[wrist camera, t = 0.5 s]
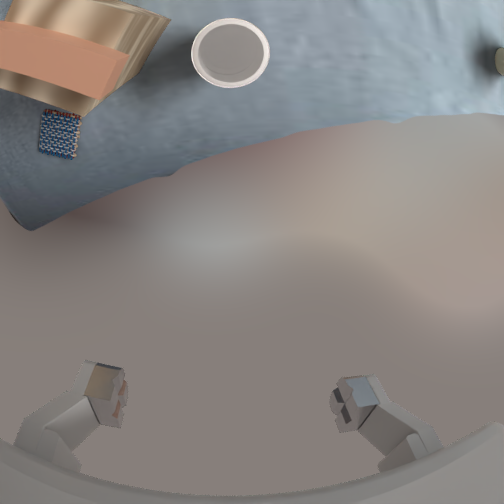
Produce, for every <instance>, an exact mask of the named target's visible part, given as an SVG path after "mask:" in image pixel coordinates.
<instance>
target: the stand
mask: <svg viewBox="0 0 504 504" xmlns="http://www.w3.org/2000/svg"><path fill="white" fill-rule="evenodd" d="M4 21H7V22H14V23H20V24H25V25H30V26H35V27H40V28H44V29H49V30H53V31H57V32H61V33H64V34H68V35H71V36H75V37H78V38H82V39H85V40H88V41H91V42H94V43H97V44H100V45H103V46H106V47H109V48H112V49H115V50H117V51H120V52H123V53H125V54H128V55H130V56H129V58H128V60H127V62H126V64H125V66H124V68H123V70H122V72H121V74H120V76H119V78H118V80H117V82H116V84H115V86H114V88H113V90H112V91H111V92H109V93H108V94H107V95H105V96H104V97H103V98H102V99H100V100H97V99H94V98H92V97H89V96H86V95H84V94H81V93H78V92H75V91H73V90H70V89H67V88H64V87H61V86H58V85H55V84H52V83H49V82H46V81H43V80H40V79H37V78H33V77H30V76H27V75H23V74H20V73H16V72H13V71H9V70H6V69H2V68H0V88H2V89H5V90H8V91H12V92H15V93H18V94H21V95H24V96H27V97H30V98H33V99H36V100H39V101H42V102H45V103H48V104H51V105H53V106H56V107H59V108H62V109H64V110H67V111H70V112H73V113H75V114H78V115H80V116H83V117H84V116H85V115H87V114H88V113H89V112H90V111H91V110H92V109H93V108H95V107H96V106H97V105H98V104H99V103H101V102H102V101H103V100H104V99H105V98H107V97H108V96H109V95H110V94H112V93H113V92H114V91H115V90H117V89H118V88H119V87H121V86H122V85H123V84H125V83H126V82H127V81H129V80H130V79H131V78H133V77H134V76H136V75H137V74H138V73H139V72H140V70H141V68H142V66H143V65H144V63H145V61H146V59H147V57H148V56H149V54H150V52H151V51H152V49H153V47H154V46H155V44H156V42H157V41H158V39H159V38H160V36H161V34H162V33H163V31H164V30H165V28H166V27H167V25H168V24H169V22H170V21H171V19H168V18H166V17H163V16H161V15H158V14H156V13H153V12H151V11H148V10H145V9H143V8H140V7H137V6H134V5H131V4H128V3H125V2H122V1H119V0H13V1H12V4H11V6H10V8H9V11H8V13H7V15H6V18H5V20H4Z"/></svg>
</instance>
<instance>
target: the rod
mask: <svg viewBox="0 0 504 504" xmlns="http://www.w3.org/2000/svg"><path fill="white" fill-rule="evenodd" d="M129 56H130V55H128V54H125V53H123V52H120V51H117V50H115V49H112V48H109V47H106V46H103V45H100V44H97V43H94V42H91V41H88V40H85V39H82V38H78V37H75V36H71V35H68V34H64V33H61V32H57V31H53V30H49V29H44V28H40V27H35V26H30V25H25V24H20V23H14V22H7V21H0V68H2V69H6V70H9V71H13V72H16V73H20V74H23V75H27V76H30V77H33V78H37V79H40V80H43V81H46V82H49V83H52V84H55V85H58V86H61V87H64V88H67V89H70V90H73V91H75V92H78V93H81V94H84V95H86V96H89V97H92V98H94V99H97V100H100V99H102V98H103V97H104V96H105V95H107V94H108V93H109V92H111V91H112V90H113V88H114V86H115V84H116V82H117V80H118V78H119V76H120V74H121V72H122V70H123V68H124V66H125V64H126V62H127V60H128V58H129Z"/></svg>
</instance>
